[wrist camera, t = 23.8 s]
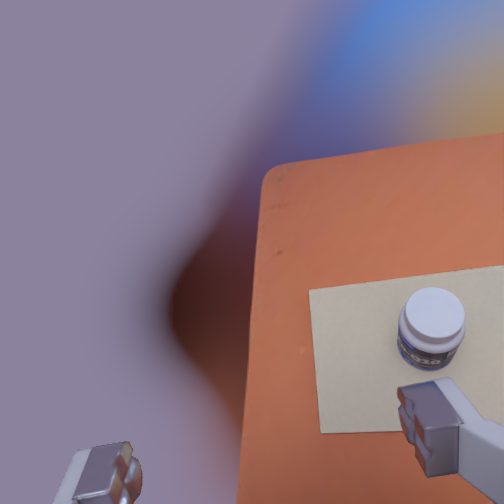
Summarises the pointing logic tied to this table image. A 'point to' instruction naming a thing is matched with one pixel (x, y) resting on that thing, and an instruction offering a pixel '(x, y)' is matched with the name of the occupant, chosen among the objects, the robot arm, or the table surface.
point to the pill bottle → (430, 328)
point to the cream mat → (388, 356)
